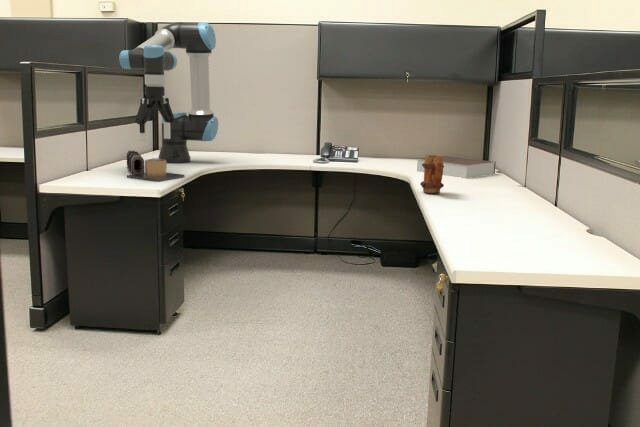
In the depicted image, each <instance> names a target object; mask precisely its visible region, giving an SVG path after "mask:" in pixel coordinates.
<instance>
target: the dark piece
mask: <svg viewBox="0 0 640 427" xmlns="http://www.w3.org/2000/svg"><path fill="white" fill-rule="evenodd" d="M151 159H152V160H151V161H161V160H160V159H159V158H158V157H157V158H156V157H155V158H154V157H152V158H151ZM166 174H167V175H166V176H157V177H155V176H146V175H145V172H144V173H139V174H133V173H132V174H127V175H126V178H127V179H135V180H142V181H148V182H149V181H150V182H157V183H159V182H165V181H171V180H175V179H181V178H185V177H186V176H185V175H186V174H183V173H173V172H166Z"/></svg>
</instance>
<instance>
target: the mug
mask: <svg viewBox="0 0 640 427" xmlns="http://www.w3.org/2000/svg"><path fill="white" fill-rule="evenodd" d="M442 156H443V155H435V154H431V155H428V154H427V155H425V156H424V158H425V162H424V163H423V164H422V166H423V168H424V172H423V181H421V182H420V186H421V187H422V192H423V193H424V194H440V193H441V189H442V188H443V187H444V186H445V185H444V183H443V182H442V181H443V177H444V175H443V168H444V165H443V158H442Z"/></svg>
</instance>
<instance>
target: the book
mask: <svg viewBox="0 0 640 427" xmlns="http://www.w3.org/2000/svg"><path fill="white" fill-rule="evenodd" d="M441 156H442V158H443V165H444V168H443V176H446V177H452V176H453V178H459V177H461V178H460V179H471V178H470V177H474V178H478V177H477V176H481V177H484V176H483V175H488V176H491V175H490V174H496V166H497V165H496V161H490V160H481V159H475V158H466V157H457V156H450V155H449V156H448V155H441ZM416 159H417V161H416V162H417V163H416V164H417V167H416V172H420V173H424V168H423V166H422V164H423V163H424V162H425V157H423V158H422V157H421V158H416Z"/></svg>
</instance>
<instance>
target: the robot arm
mask: <svg viewBox="0 0 640 427" xmlns="http://www.w3.org/2000/svg"><path fill="white" fill-rule="evenodd" d="M216 38H217V37H216V33H215V30H214V28H213V26H212V25H211V23H207V22H200V21H199V22H195V21H194V22H192V21H191V22H189V21H188V22H186V21H184V22H173V23H169V24H166V25H164V26H163V27H161V28H159V29H158V30H156V31H155V33H154V35H153V36H151V37H150V38H149V39H147V40H146V41H144V42H143V43H142V42H141V44H140V45H137V47H135V48H134V49H126V50H122V51H120V53H119V56H118V57H119V58H118V59H119V64H120V66H121V68H122V69H124V70H130V71H131V70H136V71H137V70H138V71H140V70H142V71H143V70H144V71H143V72H144V85H145V86H144V95H145V96H146V98H140V105H139V108H138V110H137V114H136V117H135V120H134V123H135V124H137V125H138V126H139V133H140V142H148V124H147V122H148V119H149V118H150V116H151V114H152V112H154V111H158V112H159V114H160V115H161V124H160V125H161V147H160V150H159V154H158V157H157V158H159V159H164V160H166V164H167V163H168V164H183V163H184V164H185V163H191V155H190V153H189V152H190V151H189V149H188V145H187V141H196V142H198V141H200V142H211V141H213V140H215V138H216V136H217V134H218V130H219V120H218V117H217V116H215V115H214V113H215V112H214V111H213V110H212V109H211V96H210V95H211V94H210V92H211V91H210V70H209V68H210V67H209V65H210V64H209V62H210V60H209V57H210V56H211V55H212V51H213V50H215V48H216V43H217V40H216ZM171 49H182V50H185V54H186V55H187V56H188V57H189V77H190V80H189V81H190V97H191V98H190V100H191V102H190V103H191V110H189V111H188V114H187V112H177V113H176V112H175V113H174V112H173V110H172V108H171V104H170V99H169V97H164V96H165V94H166V92H165V72H166V71H168V72H169V71H172V70H174V69H175V68H176V66H177V65H178V59H177V58H178V57H176V54H174V53H173V52H172V51H169V50H171Z"/></svg>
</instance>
